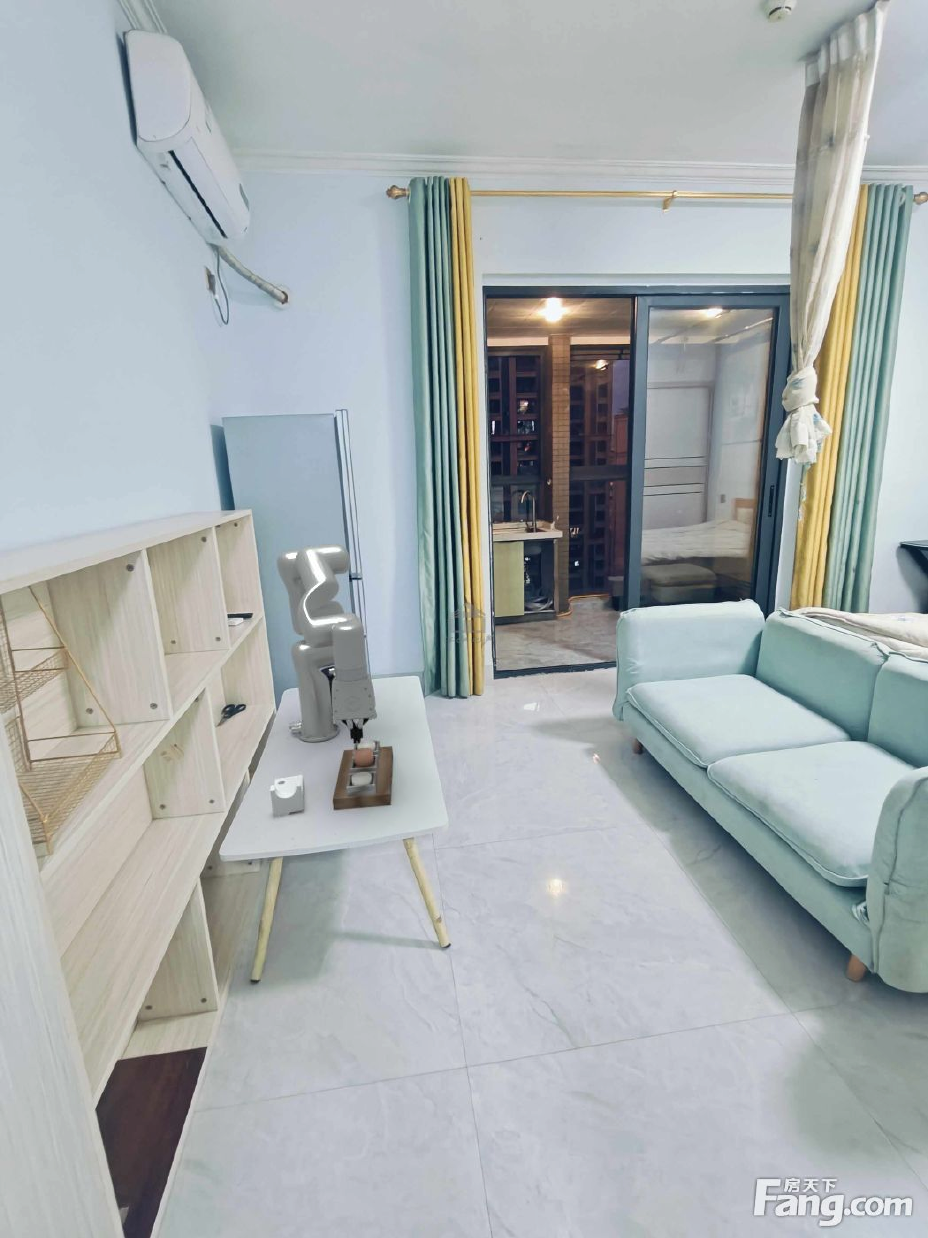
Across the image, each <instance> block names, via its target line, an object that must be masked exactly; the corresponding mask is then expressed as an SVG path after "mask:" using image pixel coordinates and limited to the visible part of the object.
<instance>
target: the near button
mask: <svg viewBox="0 0 928 1238" xmlns="http://www.w3.org/2000/svg"><path fill="white" fill-rule="evenodd" d="M351 779H352V786H358V785H370V784H372V776H371V774H370V773H368V772H359V773H356V774H354V775H353V776H352V778H351Z"/></svg>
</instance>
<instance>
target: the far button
mask: <svg viewBox="0 0 928 1238" xmlns="http://www.w3.org/2000/svg"><path fill="white" fill-rule="evenodd" d="M357 748H358V749H360V748H370V749H372V750H373V751H376V747H375V742H374V740H362V741H360V743H358V745H357Z"/></svg>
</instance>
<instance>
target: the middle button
mask: <svg viewBox="0 0 928 1238" xmlns="http://www.w3.org/2000/svg"><path fill="white" fill-rule="evenodd" d="M354 761H355V765H356V766H358V767H366V766H370V765H371V764H373V762H374V759H373V750H372V749H370V748H360V749H357V750H356V751H355V752H354Z"/></svg>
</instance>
